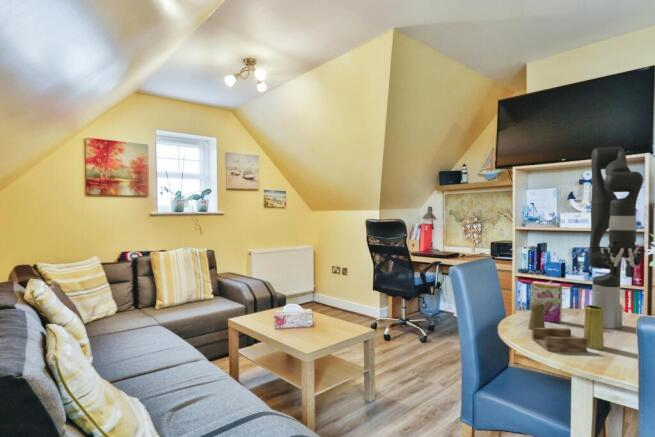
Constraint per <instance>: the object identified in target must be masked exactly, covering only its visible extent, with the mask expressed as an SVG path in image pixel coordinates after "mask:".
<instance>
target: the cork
mask: <svg viewBox="0 0 655 437" xmlns="http://www.w3.org/2000/svg"><path fill="white" fill-rule="evenodd" d="M529 304H530V305H529V309H530V316H529V321H528V330H530V331H532V328H546V326H545V321H544V317H543V311H544V305H543V304H542V303H539V302H532V303H531V302H530V303H529Z"/></svg>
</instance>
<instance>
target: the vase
mask: <svg viewBox="0 0 655 437" xmlns="http://www.w3.org/2000/svg"><path fill="white" fill-rule="evenodd" d="M584 309H585V310H584V326H583V327H584V328H583V329H584V330H583V331H584V332H583V338H586V339H587V349H588V348H589V349H591V350H600V351H601V350H604V349H605V344H604V343H605V342H604V328H603V308H602V307H599V306H594V305H592V304H586V305H585V306H584Z"/></svg>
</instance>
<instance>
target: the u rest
mask: <svg viewBox="0 0 655 437" xmlns="http://www.w3.org/2000/svg"><path fill="white" fill-rule="evenodd" d="M531 334H532V335H531V338H532V341H534V342H535V343H536V344H537V345H538V346H540V347H541V348H542V349H543V350H546V351H547V352H570V353H571V352H574V353H575V352H576V353H587V352H588V347H587V339H586V338H584V337H579V336H577V337H576V336H575V337H573V336H572V329H570V328H563V327H562V328H560V327H559V328H557V327H556V328H555V327H552V328H551V327H545V328H532V330H531Z"/></svg>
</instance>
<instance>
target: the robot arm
mask: <svg viewBox="0 0 655 437" xmlns="http://www.w3.org/2000/svg"><path fill="white" fill-rule="evenodd" d="M590 160H591V161H590V163H591V183H592V185H591V199H590V200H591V201H590V202H591V203H590V221H591V222H590V239H589V248H588V249H589V250H588V263H589V266H590V267H591V268H593V269H594V268H595V269H605V270H609V272H608V273H607V274H603V275H597V276H594V277H593V278H592V294H591V295H592V300H591V301H592V302H591V303H592V304H591V305H594V306H599V307H602V308H603V329H609V330H616V329H622V328H623V304H622V303H621V273H622V272H621V271H622V270H621V269H622V259H623V260H624V263H625V265H626V266H625V277H627V278H633V276H634V274H635V272H634V269H635V268H634V267H635V266H640V265H641V263H642V260H643V258H644V255H645V252H646V250H645V248H639V247H637V246H636V242H637V216H636V215H637V214H636V212H637V202H638V201H637V200H638V197H639V194H640V192H641V189H642V187H643V184H644V177H643V175H642V174H641V172H639V171H631V169H630V167H629V165H628V161H627V160H628V159H627V156H626V151H625V149H624V148H623V147H621V146H608V147H607V146H606V147H605V146H604V147H602V146H601V147H595V148H593V150H592V151H591V159H590ZM602 170H605V178H604V175H603V173H602ZM616 193H628V194H627V195H626V196H625V197H622V198H618V196H617V195H616ZM607 231H608V242H609V244H608V245H607V246H601V241H602V238H603V237H604V235H605V233H606V232H607ZM633 253H634V254H633Z"/></svg>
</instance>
